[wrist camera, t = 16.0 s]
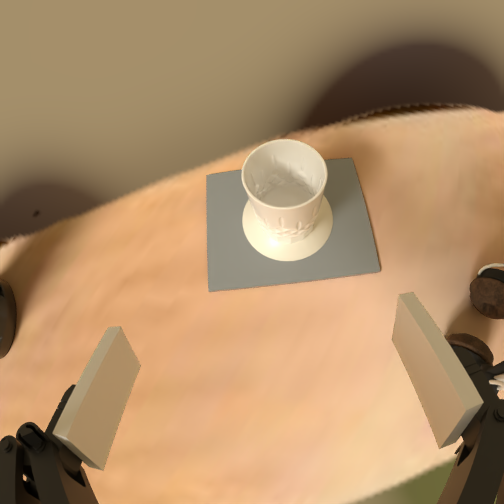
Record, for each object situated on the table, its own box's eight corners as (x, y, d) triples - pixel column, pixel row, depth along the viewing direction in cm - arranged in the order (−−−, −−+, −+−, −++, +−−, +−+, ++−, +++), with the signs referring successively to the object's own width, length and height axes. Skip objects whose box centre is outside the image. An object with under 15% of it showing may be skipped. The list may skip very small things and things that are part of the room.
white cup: (268, 183, 38) (259, 131, 28) (327, 200, 36) (336, 150, 26) (245, 237, 36) (227, 195, 26) (308, 257, 34) (313, 220, 24)
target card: (209, 291, 34) (208, 291, 34) (207, 176, 40) (206, 174, 39) (379, 272, 32) (380, 271, 32) (351, 159, 38) (352, 157, 37)
